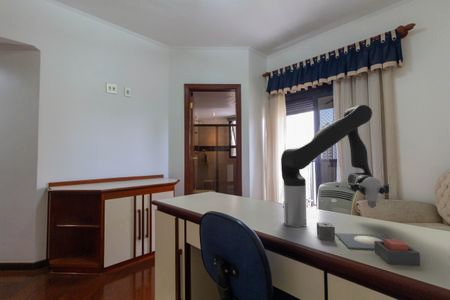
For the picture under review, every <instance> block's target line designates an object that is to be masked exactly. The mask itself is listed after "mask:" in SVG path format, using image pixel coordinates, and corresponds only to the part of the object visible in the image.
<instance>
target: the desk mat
mask: <svg viewBox="0 0 450 300" xmlns="http://www.w3.org/2000/svg"><path fill="white" fill-rule="evenodd" d="M335 237H337V238H338V239H339V240H340V241H341V243H342V244H343V245H344V246H345V247H346V248H347V249H349V250H365V251H366V250H367V251H369V250H371V251H375V245H374V241H384V239H393V238H392V237H391V236H390V235H387V234H379V233H378V234H374V233H373V234H371V233H369V234H368V233H345V232H344V233H342V232H341V233H340V232H335Z"/></svg>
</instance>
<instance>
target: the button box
mask: <svg viewBox="0 0 450 300" xmlns="http://www.w3.org/2000/svg"><path fill="white" fill-rule="evenodd" d="M374 245H375V250H374V253H375V254H376V255H377V256H378V257H379V258H381V259H382V260H383V261H384V262H385V263H386V262H387V263H386V264H388V265H398V266H403V265H404V266H420V265H421V254H420V251H418V250H416V249H414V248H413V247H411V246H409V245H408V251H400V250H389V249H388V248H386V247H385V246H384V241H374Z"/></svg>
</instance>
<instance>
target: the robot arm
mask: <svg viewBox="0 0 450 300" xmlns="http://www.w3.org/2000/svg"><path fill="white" fill-rule="evenodd" d="M372 116H373V110H372V108H371V107H370V106H368V105H366V104H358V105H356V106H353V107H350V108H348V109H346V110H345V112H344V113H343V117H342V118H339V119H337V120H335V121H333V122H330V123H329V124H327V125H325V126H323V127H322V128H321V129H319V130H318V131H317V132H316V133H315V134H314V136H313V138H312V139H311V141H309V142H308V143H306V144H304V145H303V146H301V147H297V148H296V147H295V148H287V149H285V150H283V152H282V154H281V156H280V157H281V159H280V166H281V167H280V169H281V178H282V180H283V222H284V225H285V226H288V227H293V228H303V227H306V226H307V191H306V190H307V187H306V186H307V185H306V184H307V183H306V182H307V181H306V178H305V177H303V176H302V174H301V172H300V171H301V170H303V169H306V167H308V166H309V165H310V164H311V163H312V162H313V161H314V160H315V159H317V158H318V157H319V156H320V155H321V154H323V153H324V152H326V151H327V150H328V149H330V148H332V147H333V146H335V145H336V144H337V143H339V142H341V140H342V139H344V138H346V137H347V138H348V143H349V147H350V148H349V149H350V163H351V167H352V168H356V169H360V170H362V171H363V172H352V173H350V174H349V175H348V176H347V177H348V178H347V183H348V190H350V191H352V192H354V193H356V192H357V191H358V193H360V194H361V195H365V196H366V193H365V192H364V187H363V186H362V182H363V180H364V179H366V178H368V177H373V174H372V172H371V170H370V166H369V161H368V160H369V157H368V151H367V147H366V145H365V143H364V141H363V140H362V139H361V137H360V134H359V127H361V126H362V125H365V124H367V123H368V122H369V121H370V120H371V119H372ZM389 193H390V184H389V183H386V184H385V183H384V184H383V185H382V187H381V189H380V192H379V194H381V195H384V194H389Z"/></svg>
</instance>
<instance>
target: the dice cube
mask: <svg viewBox="0 0 450 300" xmlns="http://www.w3.org/2000/svg"><path fill="white" fill-rule="evenodd" d="M335 228H336V227H335V225H333V223H332V222H320V221H319V222H316V237H317V238H318V240H319V241H330V242H335V241H336V235H335V233H336V231H335V230H336V229H335Z"/></svg>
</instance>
